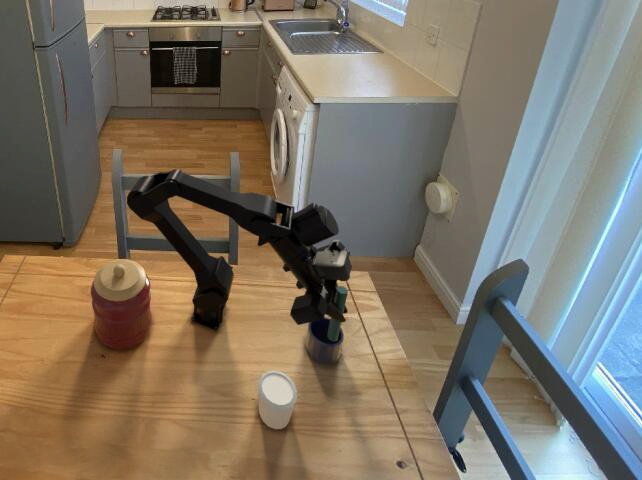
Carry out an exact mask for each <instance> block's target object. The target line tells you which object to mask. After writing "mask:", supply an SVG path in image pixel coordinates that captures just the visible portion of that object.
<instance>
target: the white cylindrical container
mask: <svg viewBox="0 0 642 480" xmlns="http://www.w3.org/2000/svg"><path fill="white" fill-rule="evenodd" d="M257 383H258V384H257V394H258V395H257V397H258V398H257V399H258V413H259V417H260V418H261V420H262V422H263V423H264V424H265V425H266V426H267V427H268V428H271V429H273V430H282V429H284V428H286V427H287V426H288V424H289V423H290V420H291V417H292V414H293V411H294V408H295V406H296V402H297V399H298V390H297V388H296V384H295V383H294V381H293V380H292V379H291V377H290V376H288V375H287V374H285V373H284V372H282V371H280V370H268V371H267V370H266V371H265V372H263V373H262V374H261V376H260V377H259V378H258V382H257Z"/></svg>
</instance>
